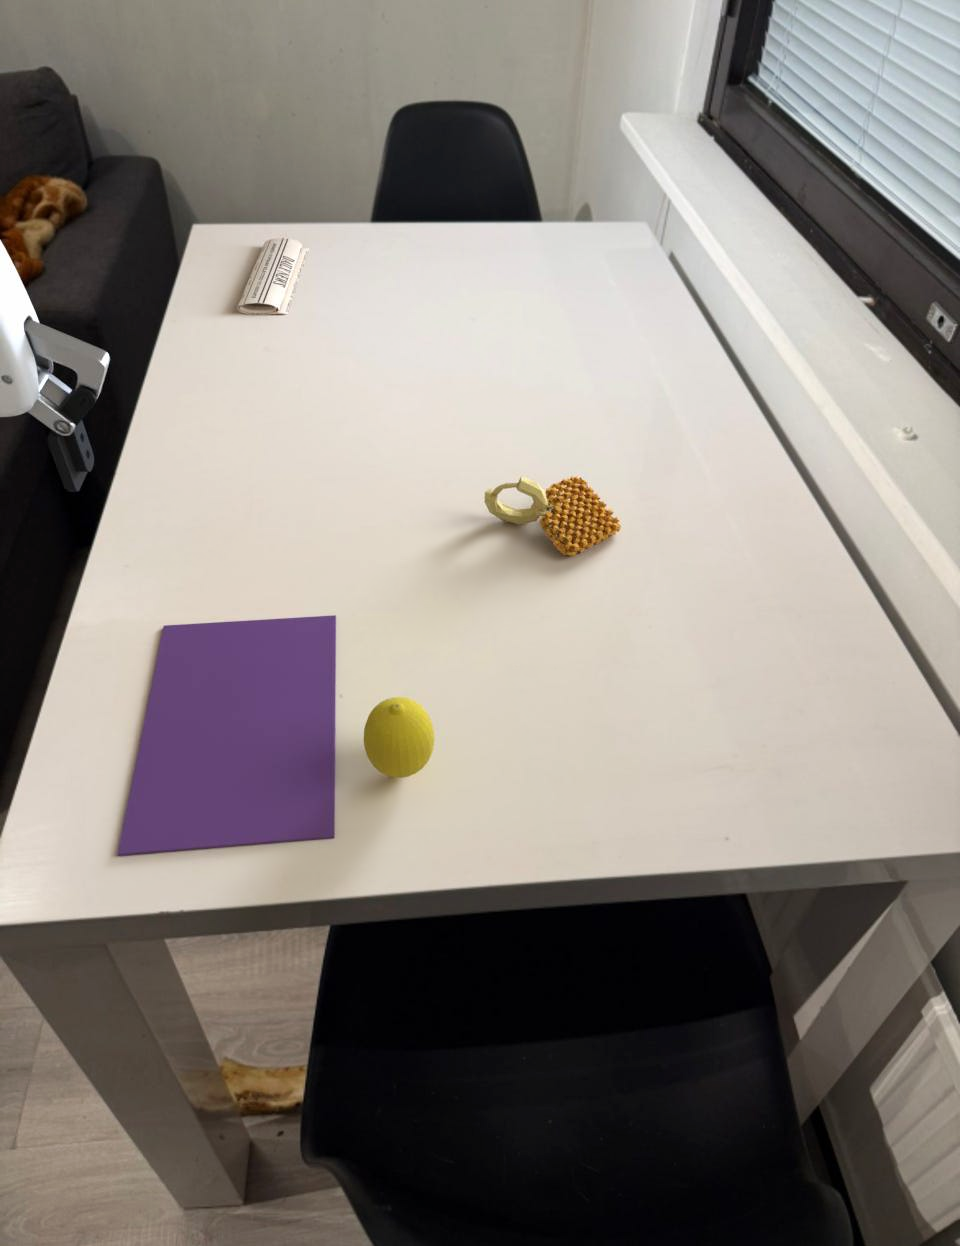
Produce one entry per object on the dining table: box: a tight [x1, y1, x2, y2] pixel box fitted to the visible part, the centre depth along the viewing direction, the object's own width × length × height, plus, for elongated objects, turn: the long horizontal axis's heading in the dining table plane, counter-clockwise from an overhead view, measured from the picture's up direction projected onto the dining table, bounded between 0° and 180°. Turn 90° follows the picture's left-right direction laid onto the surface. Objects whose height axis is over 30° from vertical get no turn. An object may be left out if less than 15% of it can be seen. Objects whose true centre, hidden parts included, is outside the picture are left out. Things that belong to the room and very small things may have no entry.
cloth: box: [117, 614, 337, 857], centre depth 74 cm, size 24×16×1 cm, turn 6°
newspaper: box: [236, 237, 310, 316], centre depth 134 cm, size 24×7×2 cm, turn 0°
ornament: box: [484, 475, 622, 557], centre depth 92 cm, size 7×10×15 cm
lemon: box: [363, 696, 435, 779], centre depth 68 cm, size 6×6×8 cm
